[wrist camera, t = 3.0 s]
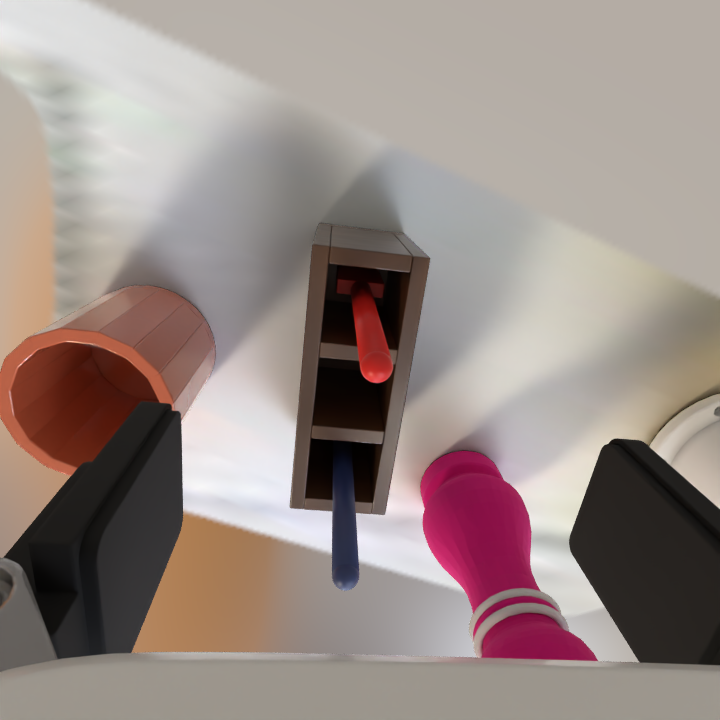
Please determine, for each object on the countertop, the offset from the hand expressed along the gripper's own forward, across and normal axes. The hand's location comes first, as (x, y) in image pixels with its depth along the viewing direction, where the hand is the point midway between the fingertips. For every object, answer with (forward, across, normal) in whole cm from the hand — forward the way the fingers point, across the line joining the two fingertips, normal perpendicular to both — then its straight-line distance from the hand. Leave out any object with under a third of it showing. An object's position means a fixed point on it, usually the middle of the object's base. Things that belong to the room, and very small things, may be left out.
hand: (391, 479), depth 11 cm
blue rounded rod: (+21, 0, +9) cm, 23 cm away
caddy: (+22, 0, +4) cm, 22 cm away
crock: (+22, +13, +6) cm, 26 cm away
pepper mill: (+22, -10, +16) cm, 29 cm away
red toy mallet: (+21, 0, 0) cm, 21 cm away
